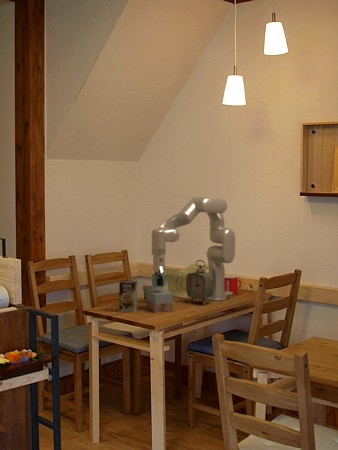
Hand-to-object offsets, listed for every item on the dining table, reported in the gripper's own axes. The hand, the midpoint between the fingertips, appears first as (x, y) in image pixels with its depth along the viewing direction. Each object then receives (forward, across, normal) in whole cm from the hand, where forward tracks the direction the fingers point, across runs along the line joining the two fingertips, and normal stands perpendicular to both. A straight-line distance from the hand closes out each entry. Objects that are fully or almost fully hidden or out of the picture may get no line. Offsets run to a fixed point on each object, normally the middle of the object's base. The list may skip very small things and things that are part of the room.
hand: (158, 284), depth 362 cm
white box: (+9, 0, 0) cm, 9 cm away
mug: (+14, +30, -54) cm, 64 cm away
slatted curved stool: (+14, +37, -25) cm, 47 cm away
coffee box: (+14, 0, +17) cm, 22 cm away
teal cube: (+1, 0, 0) cm, 1 cm away
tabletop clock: (+14, +9, -27) cm, 32 cm away
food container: (+14, +19, -2) cm, 24 cm away
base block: (+14, 0, 0) cm, 14 cm away
